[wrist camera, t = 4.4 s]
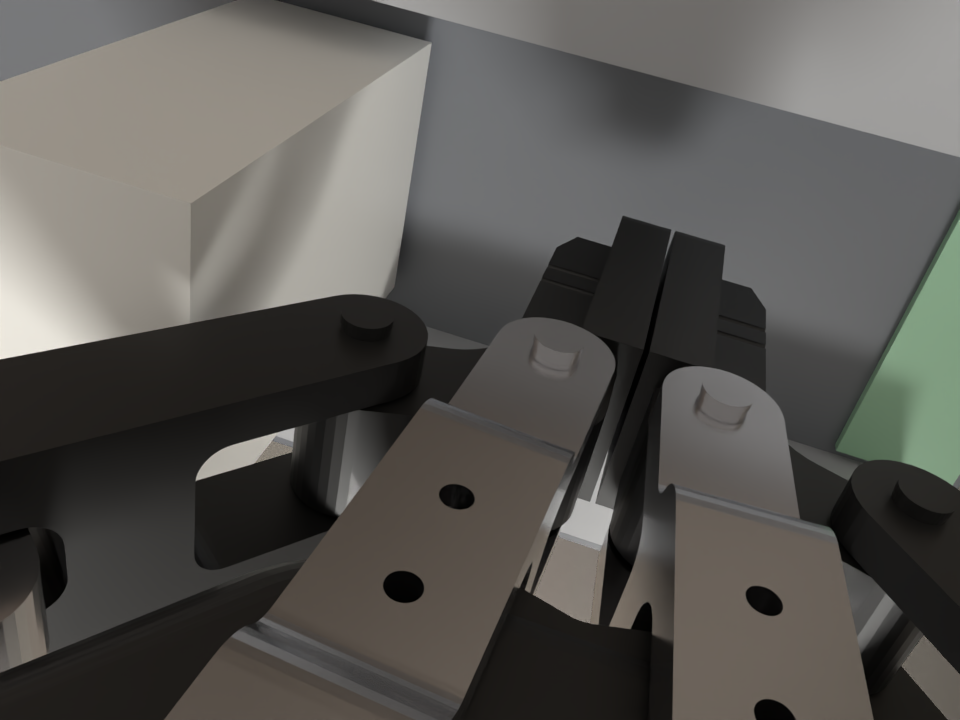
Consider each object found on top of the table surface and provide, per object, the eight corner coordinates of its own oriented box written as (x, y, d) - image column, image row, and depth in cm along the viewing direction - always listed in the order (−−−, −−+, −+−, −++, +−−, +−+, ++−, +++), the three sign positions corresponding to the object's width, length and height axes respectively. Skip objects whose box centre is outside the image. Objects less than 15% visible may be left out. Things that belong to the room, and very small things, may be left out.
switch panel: (1292, -160, 12) (1498, -151, 8) (852, 569, 20) (869, 722, 16) (-251, -490, 15) (-544, -578, 11) (-103, 256, 22) (-252, 331, 19)
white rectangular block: (432, 42, 14) (190, 203, 8) (394, 286, 16) (188, 546, 10) (254, -6, 14) (-99, 115, 8) (243, 240, 17) (-36, 465, 11)
